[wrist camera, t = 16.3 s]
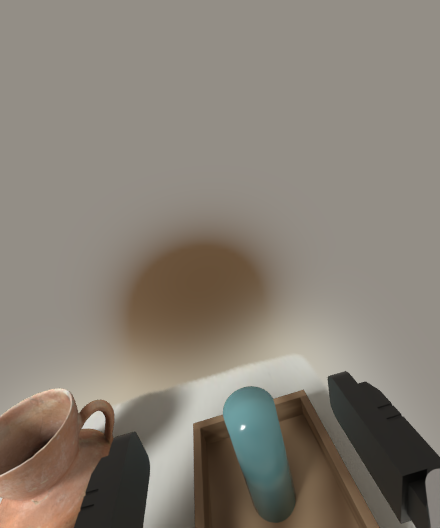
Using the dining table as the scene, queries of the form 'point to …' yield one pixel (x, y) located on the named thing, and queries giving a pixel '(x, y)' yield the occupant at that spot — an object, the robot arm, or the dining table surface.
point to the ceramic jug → (48, 459)
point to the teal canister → (261, 452)
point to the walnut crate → (301, 466)
